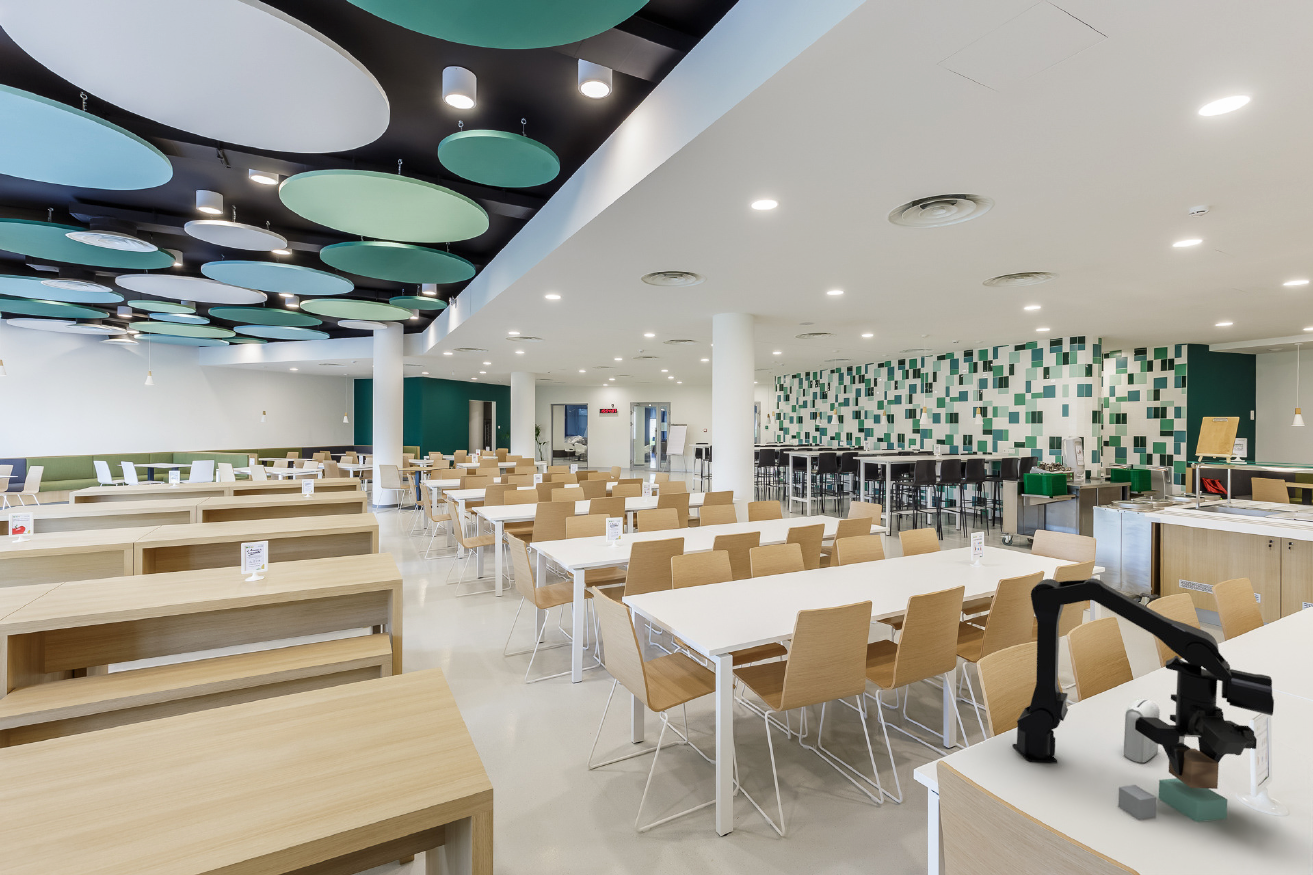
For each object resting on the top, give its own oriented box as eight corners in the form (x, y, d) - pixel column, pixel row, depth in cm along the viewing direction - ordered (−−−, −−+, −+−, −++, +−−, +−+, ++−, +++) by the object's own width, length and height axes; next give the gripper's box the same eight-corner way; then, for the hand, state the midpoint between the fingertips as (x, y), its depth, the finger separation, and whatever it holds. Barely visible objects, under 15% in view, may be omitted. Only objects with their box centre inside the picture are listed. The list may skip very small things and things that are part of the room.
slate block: (1139, 820, 110) (1140, 799, 110) (1118, 807, 114) (1119, 786, 114) (1155, 817, 111) (1156, 797, 111) (1134, 804, 115) (1135, 784, 115)
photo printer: (1137, 743, 138) (1139, 691, 137) (1160, 752, 134) (1162, 699, 134) (1120, 756, 132) (1122, 702, 132) (1144, 766, 128) (1146, 710, 128)
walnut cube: (1190, 787, 112) (1191, 761, 112) (1168, 771, 117) (1169, 747, 117) (1217, 788, 111) (1218, 762, 111) (1194, 773, 116) (1195, 748, 116)
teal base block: (1196, 822, 110) (1197, 802, 110) (1158, 799, 117) (1159, 779, 117) (1226, 819, 111) (1227, 799, 111) (1187, 796, 118) (1188, 777, 118)
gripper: (1182, 714, 106) (1178, 799, 106) (1288, 719, 105) (1284, 804, 106) (1134, 687, 117) (1131, 763, 117) (1230, 691, 116) (1226, 767, 117)
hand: (1192, 774), depth 114 cm, fingers closed on walnut cube, 5 cm apart
